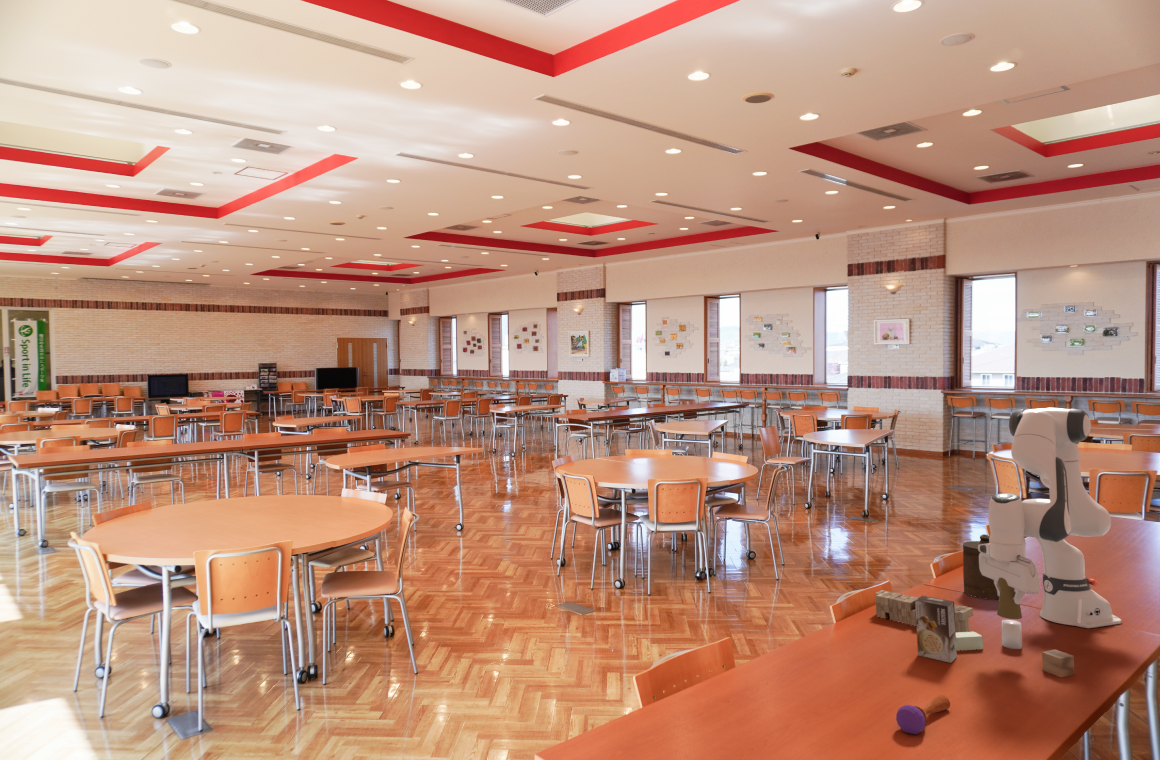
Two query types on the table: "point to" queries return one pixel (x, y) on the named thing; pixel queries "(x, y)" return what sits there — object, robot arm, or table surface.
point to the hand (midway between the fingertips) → (1009, 600)
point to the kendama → (919, 714)
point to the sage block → (968, 641)
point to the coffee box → (936, 628)
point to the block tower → (913, 610)
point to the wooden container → (976, 571)
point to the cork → (1007, 602)
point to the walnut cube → (1058, 663)
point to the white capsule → (1011, 634)
